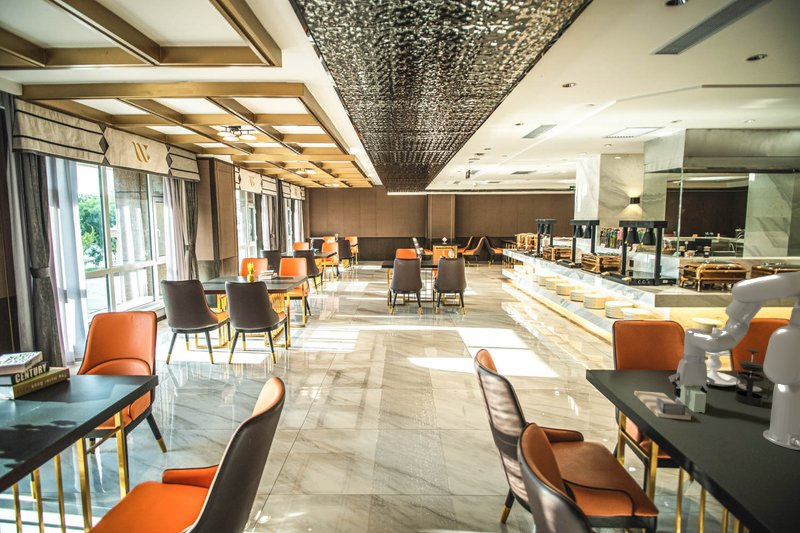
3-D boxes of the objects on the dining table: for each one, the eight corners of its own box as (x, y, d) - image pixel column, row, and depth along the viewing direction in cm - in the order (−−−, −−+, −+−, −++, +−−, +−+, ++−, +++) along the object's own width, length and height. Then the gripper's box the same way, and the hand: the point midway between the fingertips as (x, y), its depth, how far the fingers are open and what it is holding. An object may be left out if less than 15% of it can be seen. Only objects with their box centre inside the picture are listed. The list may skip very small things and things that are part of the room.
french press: (732, 401, 178) (737, 350, 176) (732, 395, 186) (736, 345, 184) (768, 409, 171) (773, 355, 169) (766, 402, 178) (772, 350, 176)
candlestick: (735, 378, 207) (740, 324, 204) (742, 394, 186) (748, 334, 184) (686, 370, 218) (690, 318, 216) (687, 384, 198) (692, 327, 195)
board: (690, 419, 160) (691, 406, 160) (657, 417, 162) (658, 403, 162) (663, 396, 183) (664, 384, 183) (634, 394, 185) (635, 382, 185)
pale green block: (704, 413, 167) (706, 394, 166) (693, 412, 168) (695, 393, 167) (686, 399, 181) (687, 381, 180) (676, 398, 181) (677, 380, 181)
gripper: (711, 357, 175) (707, 395, 176) (667, 354, 177) (663, 392, 179) (721, 362, 167) (717, 403, 169) (675, 359, 170) (672, 399, 172)
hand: (689, 397), depth 174 cm, fingers open, 9 cm apart
